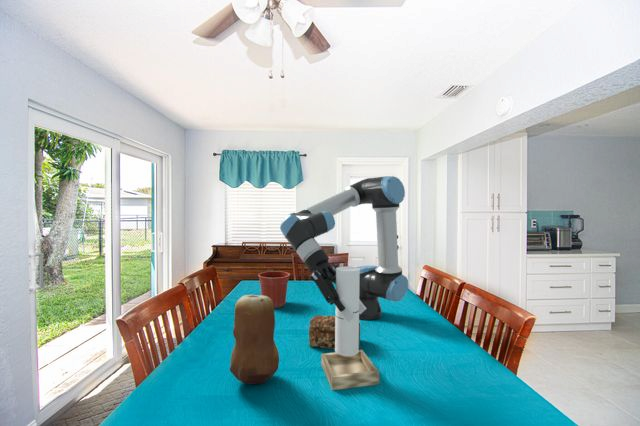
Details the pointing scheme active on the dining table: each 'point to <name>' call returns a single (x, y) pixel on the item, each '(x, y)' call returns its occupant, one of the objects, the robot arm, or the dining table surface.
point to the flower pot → (274, 286)
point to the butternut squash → (254, 340)
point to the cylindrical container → (350, 294)
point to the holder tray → (349, 370)
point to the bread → (323, 331)
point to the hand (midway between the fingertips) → (357, 315)
